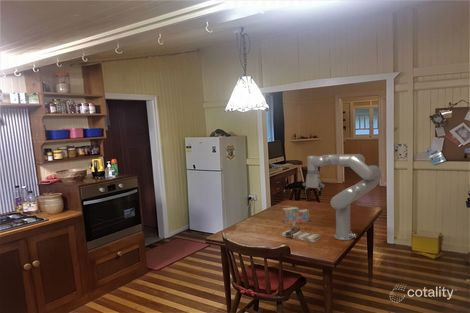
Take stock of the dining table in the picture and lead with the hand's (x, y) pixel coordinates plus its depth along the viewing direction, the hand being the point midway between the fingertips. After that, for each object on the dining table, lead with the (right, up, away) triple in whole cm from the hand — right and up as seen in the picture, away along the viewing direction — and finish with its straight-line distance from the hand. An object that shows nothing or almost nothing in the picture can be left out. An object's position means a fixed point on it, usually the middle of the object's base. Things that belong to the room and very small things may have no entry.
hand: (313, 195), depth 245 cm
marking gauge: (-15, -29, -2) cm, 33 cm away
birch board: (-10, -30, -6) cm, 32 cm away
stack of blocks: (-7, -26, +32) cm, 42 cm away
